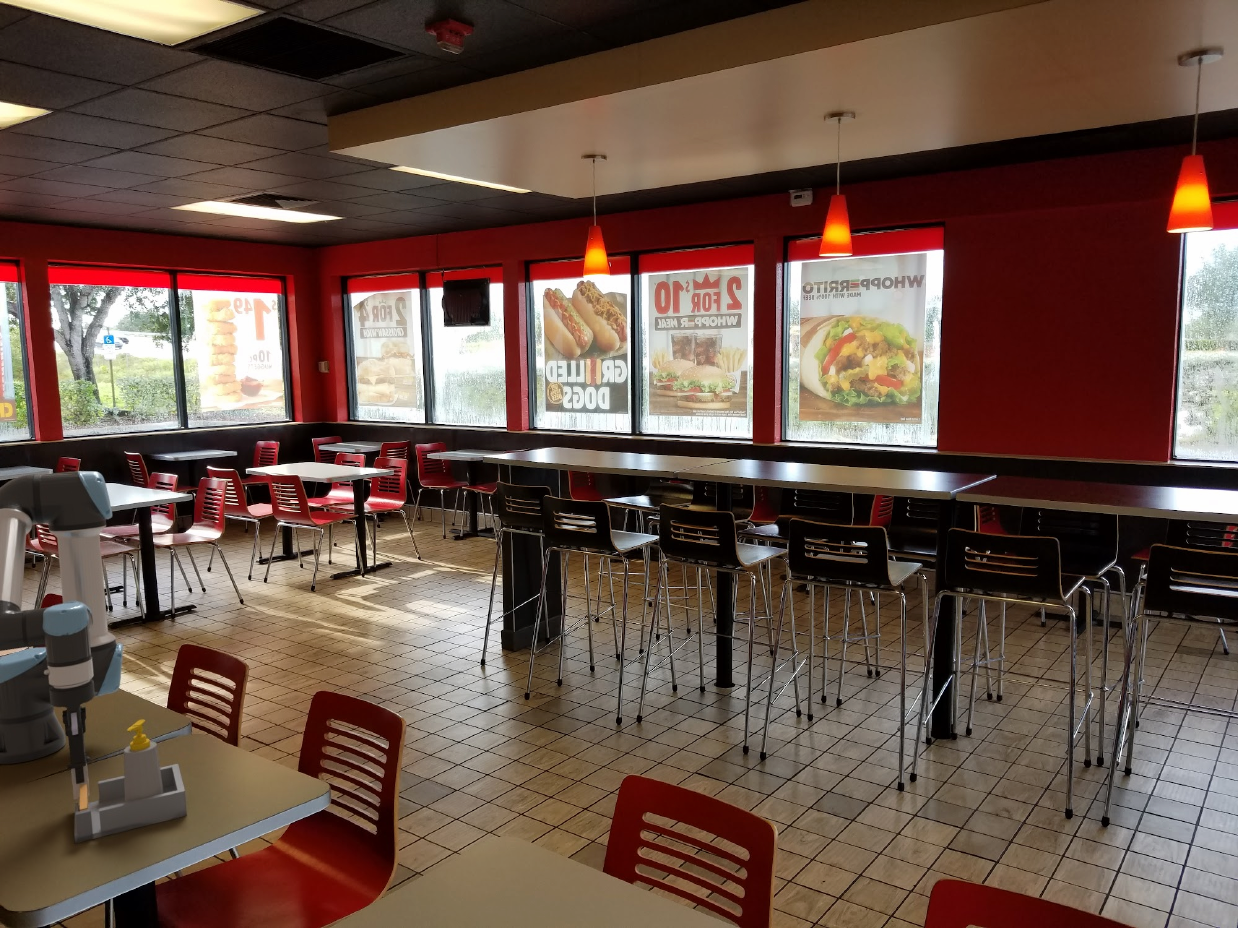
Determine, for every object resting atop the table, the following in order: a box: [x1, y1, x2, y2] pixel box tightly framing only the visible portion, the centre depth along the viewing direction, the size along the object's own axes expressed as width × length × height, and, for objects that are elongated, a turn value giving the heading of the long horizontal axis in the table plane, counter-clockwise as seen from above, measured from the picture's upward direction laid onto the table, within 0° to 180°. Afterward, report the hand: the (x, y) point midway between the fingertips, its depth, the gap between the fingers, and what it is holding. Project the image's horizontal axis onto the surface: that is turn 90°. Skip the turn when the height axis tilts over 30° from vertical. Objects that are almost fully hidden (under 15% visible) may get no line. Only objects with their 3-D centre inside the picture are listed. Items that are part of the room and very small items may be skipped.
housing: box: [73, 763, 188, 844], centre depth 174 cm, size 15×19×5 cm
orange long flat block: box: [79, 784, 90, 811], centre depth 171 cm, size 12×1×4 cm, turn 31°
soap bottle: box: [123, 718, 164, 803], centre depth 172 cm, size 7×7×18 cm
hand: (81, 795), depth 177 cm, fingers closed
